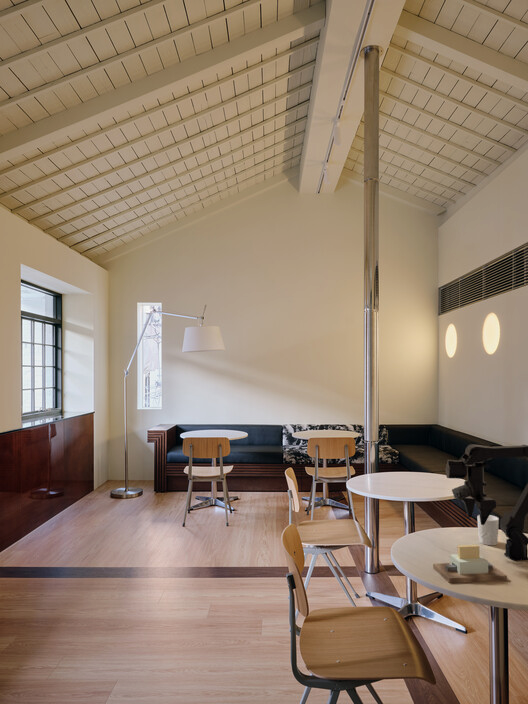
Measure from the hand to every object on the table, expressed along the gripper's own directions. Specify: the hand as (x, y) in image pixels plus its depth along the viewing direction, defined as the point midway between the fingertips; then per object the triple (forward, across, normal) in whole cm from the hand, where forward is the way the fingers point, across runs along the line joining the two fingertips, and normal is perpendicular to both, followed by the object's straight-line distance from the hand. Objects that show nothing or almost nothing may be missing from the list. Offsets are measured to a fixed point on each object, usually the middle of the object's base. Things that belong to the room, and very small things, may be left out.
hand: (476, 520), depth 185 cm
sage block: (+12, +15, -11) cm, 22 cm away
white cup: (+13, -13, +12) cm, 22 cm away
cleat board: (+13, +15, -11) cm, 23 cm away
